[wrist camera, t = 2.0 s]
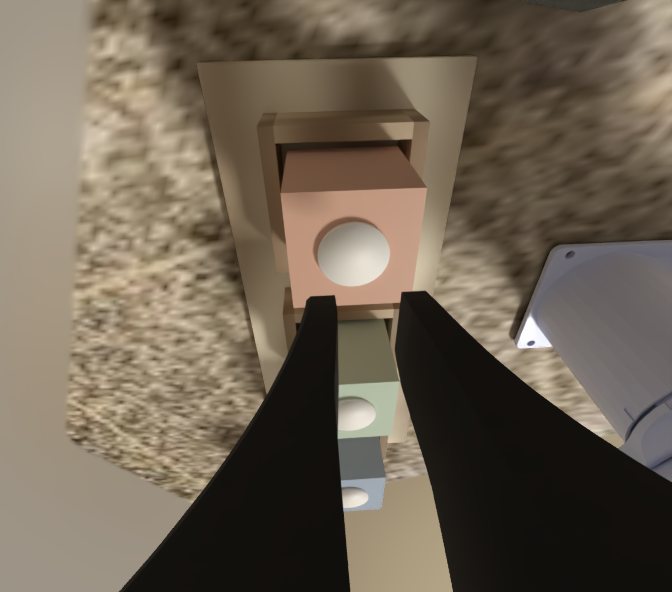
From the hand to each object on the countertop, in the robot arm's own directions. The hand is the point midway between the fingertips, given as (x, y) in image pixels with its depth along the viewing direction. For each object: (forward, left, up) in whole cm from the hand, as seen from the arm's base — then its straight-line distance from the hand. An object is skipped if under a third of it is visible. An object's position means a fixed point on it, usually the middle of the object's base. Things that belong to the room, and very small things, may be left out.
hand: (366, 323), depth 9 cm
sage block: (0, +9, -8) cm, 12 cm away
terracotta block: (0, 0, -8) cm, 8 cm away
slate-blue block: (0, +18, -8) cm, 20 cm away
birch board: (0, +9, -10) cm, 14 cm away
